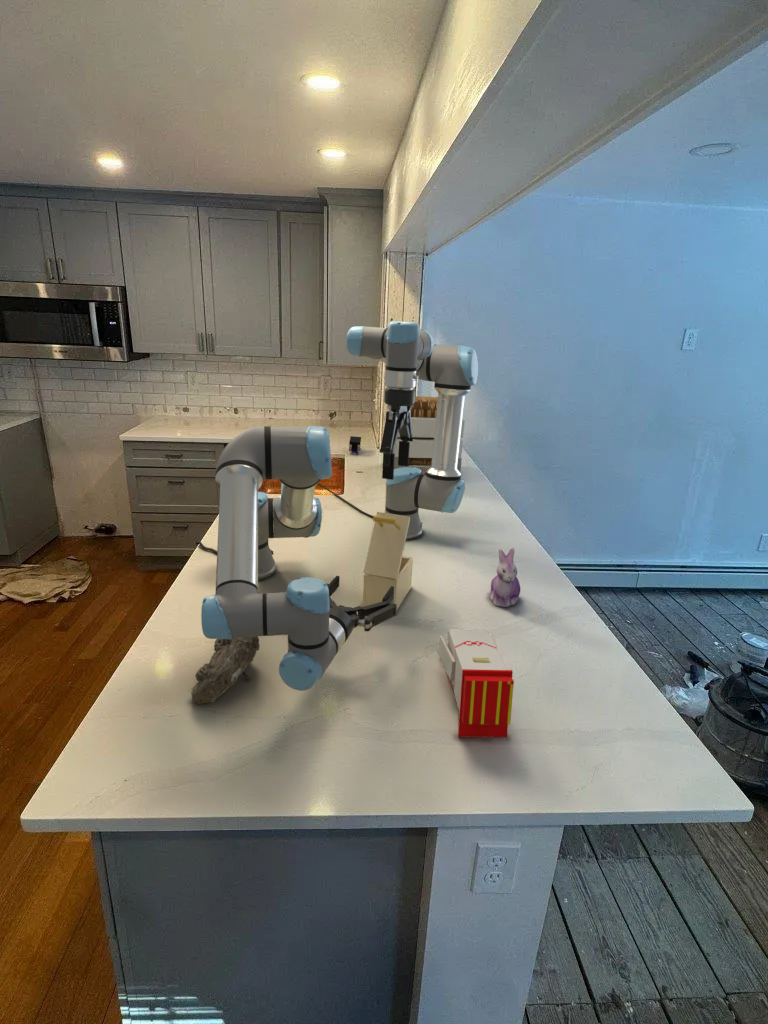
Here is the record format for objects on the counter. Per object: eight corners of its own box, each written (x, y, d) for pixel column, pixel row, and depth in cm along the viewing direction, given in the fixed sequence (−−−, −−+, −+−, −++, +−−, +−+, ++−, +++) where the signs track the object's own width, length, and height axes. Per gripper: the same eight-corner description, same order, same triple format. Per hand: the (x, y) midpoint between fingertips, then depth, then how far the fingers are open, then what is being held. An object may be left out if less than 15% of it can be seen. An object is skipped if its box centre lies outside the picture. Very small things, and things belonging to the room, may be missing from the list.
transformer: (382, 463, 289) (386, 382, 275) (445, 464, 293) (451, 384, 279) (390, 482, 257) (394, 392, 243) (460, 483, 261) (468, 394, 247)
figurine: (502, 611, 151) (509, 560, 146) (479, 594, 159) (485, 545, 154) (530, 604, 155) (537, 554, 150) (506, 588, 163) (512, 540, 158)
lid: (378, 513, 151) (370, 503, 143) (410, 517, 149) (404, 508, 141) (364, 573, 147) (355, 567, 139) (397, 579, 145) (390, 573, 137)
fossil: (211, 627, 129) (258, 597, 124) (240, 656, 132) (287, 627, 127) (170, 698, 110) (224, 665, 105) (204, 729, 113) (259, 699, 108)
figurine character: (360, 458, 303) (361, 448, 316) (361, 444, 299) (361, 435, 313) (348, 457, 302) (349, 447, 316) (348, 444, 299) (349, 434, 312)
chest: (381, 582, 164) (382, 552, 161) (411, 587, 162) (413, 557, 159) (362, 607, 150) (363, 575, 147) (394, 613, 148) (396, 581, 144)
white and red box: (488, 613, 130) (523, 677, 101) (484, 667, 133) (517, 744, 104) (435, 612, 130) (455, 676, 101) (432, 666, 133) (451, 743, 103)
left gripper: (274, 635, 119) (316, 590, 138) (387, 661, 112) (414, 610, 131) (273, 604, 116) (316, 562, 135) (389, 628, 110) (417, 581, 129)
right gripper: (400, 395, 126) (395, 486, 133) (427, 383, 148) (421, 462, 156) (368, 393, 128) (365, 482, 135) (399, 381, 150) (395, 459, 158)
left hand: (364, 586), depth 133 cm, fingers open, 13 cm apart
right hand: (395, 472), depth 145 cm, fingers open, 13 cm apart
